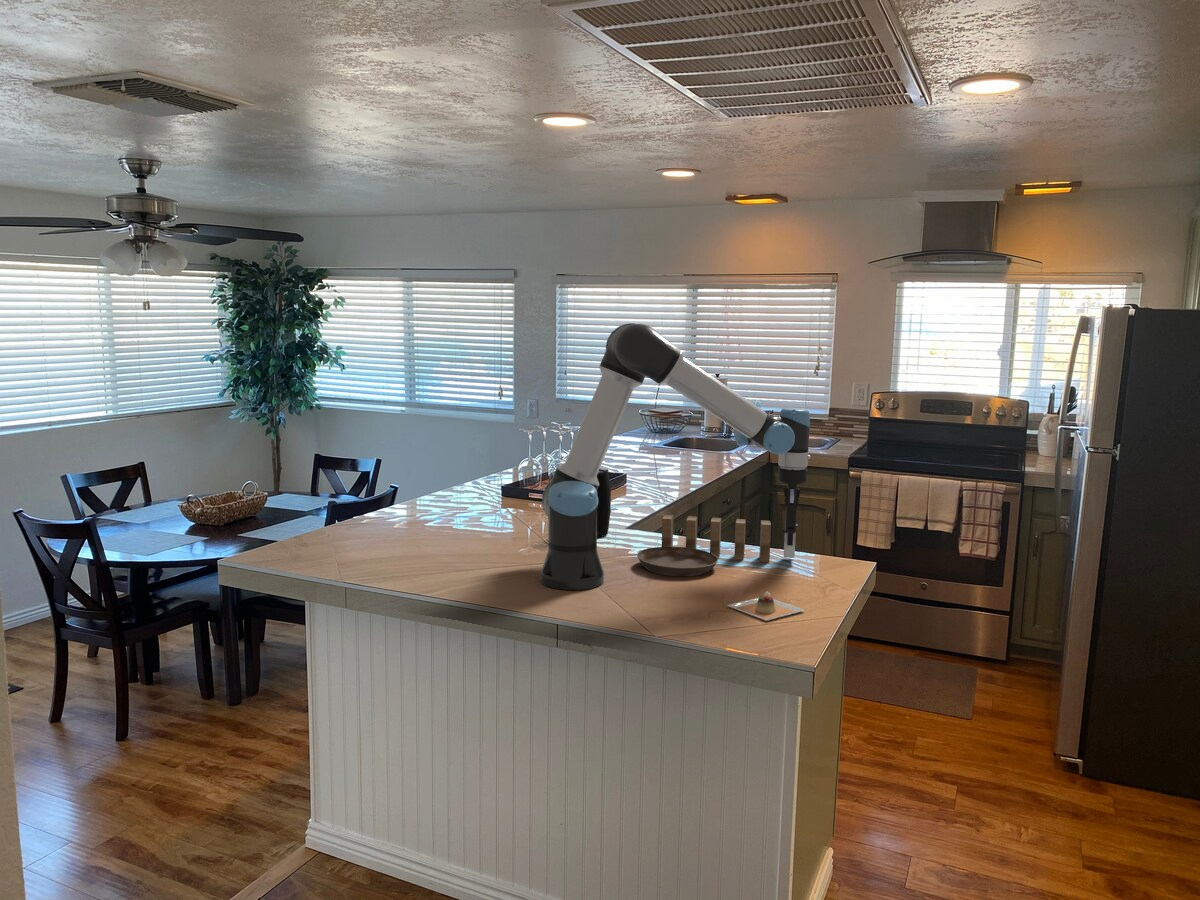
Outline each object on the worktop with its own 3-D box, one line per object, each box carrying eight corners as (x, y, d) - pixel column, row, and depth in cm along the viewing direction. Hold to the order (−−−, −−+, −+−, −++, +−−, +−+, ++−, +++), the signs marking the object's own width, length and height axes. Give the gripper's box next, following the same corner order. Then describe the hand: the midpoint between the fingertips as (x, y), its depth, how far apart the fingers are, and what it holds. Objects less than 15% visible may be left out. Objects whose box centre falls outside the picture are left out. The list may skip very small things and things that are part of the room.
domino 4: (743, 560, 234) (744, 523, 233) (734, 559, 235) (735, 522, 234) (744, 555, 239) (745, 519, 238) (735, 555, 240) (736, 518, 238)
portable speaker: (615, 535, 261) (617, 469, 258) (592, 540, 254) (593, 473, 251) (595, 530, 267) (596, 465, 264) (572, 534, 260) (573, 469, 257)
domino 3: (718, 558, 236) (719, 521, 234) (709, 558, 236) (710, 521, 235) (720, 554, 241) (721, 518, 239) (711, 553, 241) (712, 517, 240)
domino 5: (769, 561, 233) (771, 524, 232) (760, 561, 233) (761, 524, 232) (768, 557, 238) (769, 520, 237) (759, 556, 238) (760, 520, 237)
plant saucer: (723, 561, 234) (723, 549, 233) (710, 583, 214) (710, 569, 213) (647, 555, 239) (647, 543, 239) (627, 575, 220) (628, 562, 219)
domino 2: (694, 557, 237) (695, 520, 236) (685, 556, 238) (686, 520, 236) (696, 552, 242) (697, 516, 241) (687, 551, 242) (688, 516, 241)
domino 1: (670, 555, 238) (671, 519, 237) (661, 554, 239) (662, 518, 238) (672, 550, 243) (673, 515, 242) (663, 550, 244) (664, 514, 242)
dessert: (766, 625, 185) (767, 603, 185) (726, 610, 195) (726, 589, 194) (805, 615, 192) (806, 593, 191) (764, 600, 202) (765, 580, 201)
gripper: (808, 473, 221) (804, 563, 225) (807, 462, 239) (803, 546, 242) (777, 472, 223) (774, 561, 226) (778, 461, 240) (775, 545, 244)
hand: (789, 554), depth 234 cm, fingers closed on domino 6, 5 cm apart
